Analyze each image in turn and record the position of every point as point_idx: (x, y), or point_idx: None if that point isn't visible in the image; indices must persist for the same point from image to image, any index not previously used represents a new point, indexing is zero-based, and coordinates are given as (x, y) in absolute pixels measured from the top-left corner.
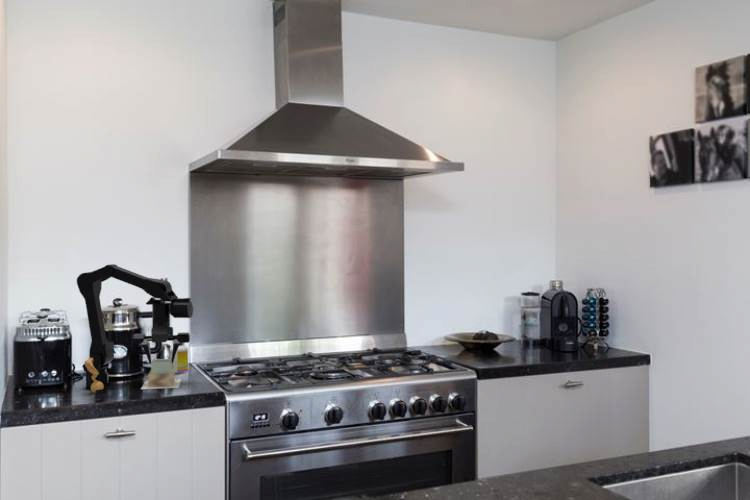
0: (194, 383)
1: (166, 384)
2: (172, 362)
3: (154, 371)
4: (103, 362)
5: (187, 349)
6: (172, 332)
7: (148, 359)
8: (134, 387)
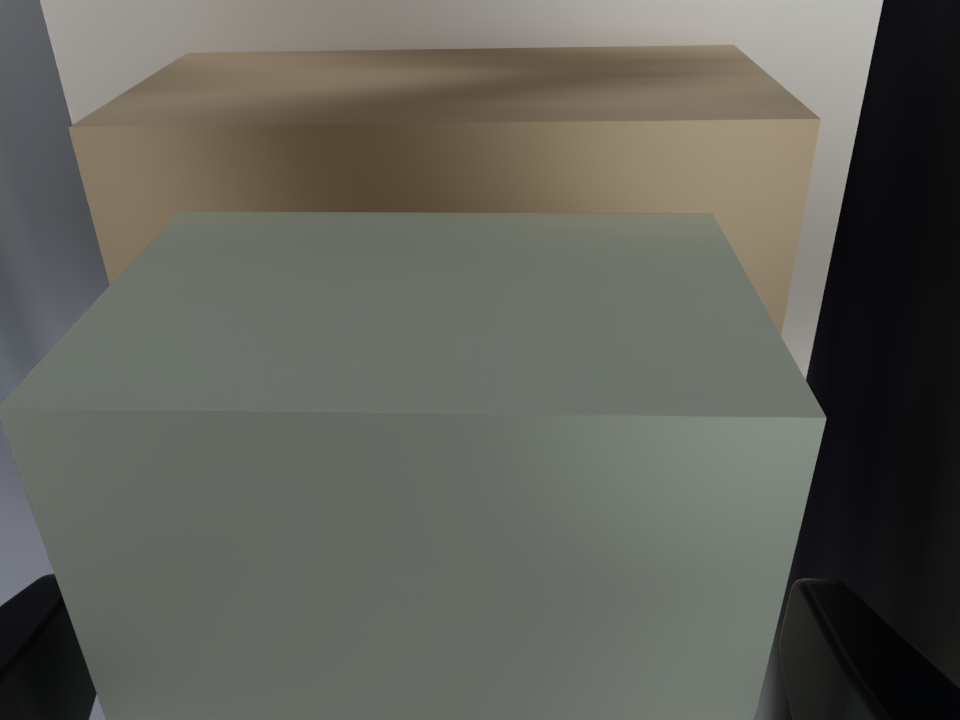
0: (10, 518)
1: (318, 56)
2: (45, 588)
3: (633, 250)
4: None
5: None
6: None
7: (956, 694)
8: (930, 416)
